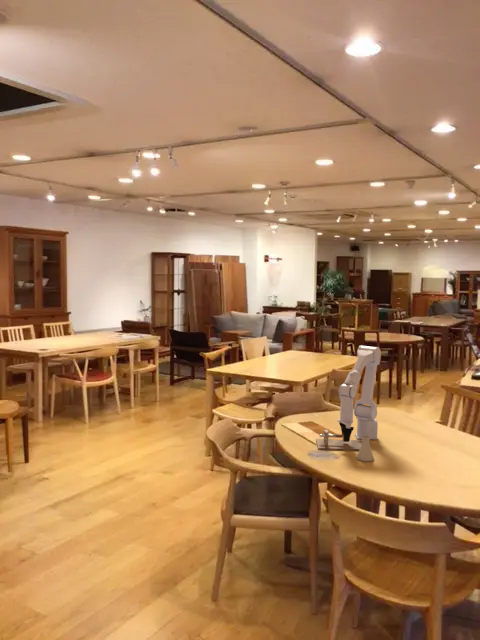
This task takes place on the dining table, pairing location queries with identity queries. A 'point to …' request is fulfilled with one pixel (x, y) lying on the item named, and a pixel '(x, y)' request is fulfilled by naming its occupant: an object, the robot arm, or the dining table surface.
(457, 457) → the dining table surface
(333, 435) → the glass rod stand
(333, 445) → the board
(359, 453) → the flask
